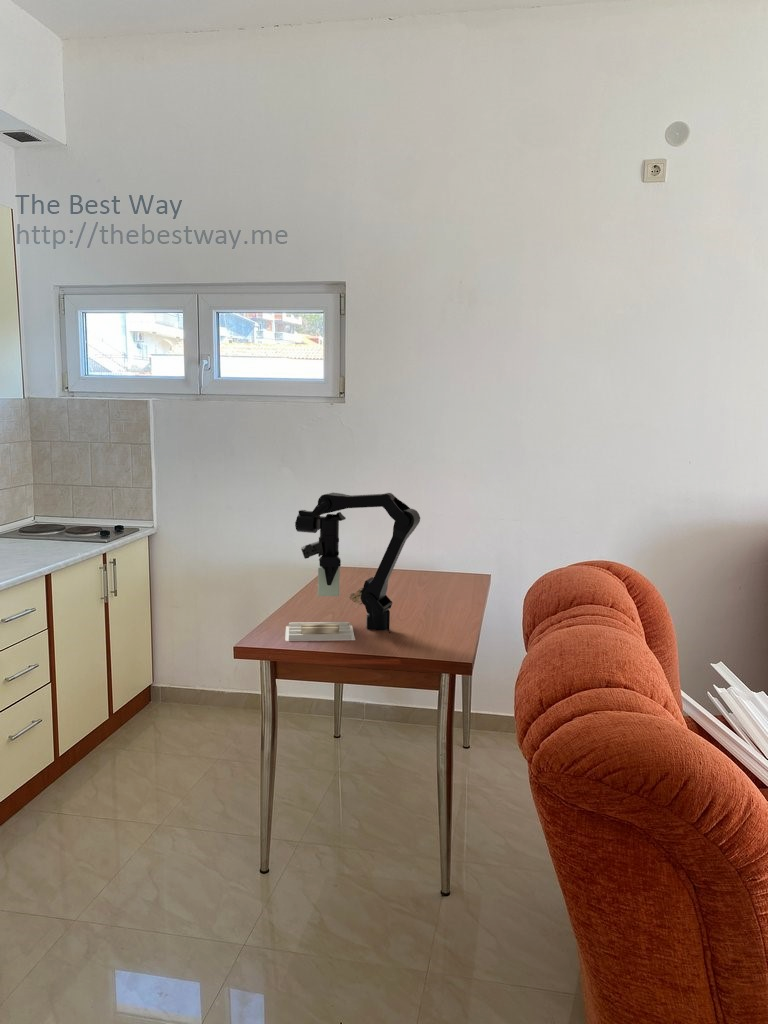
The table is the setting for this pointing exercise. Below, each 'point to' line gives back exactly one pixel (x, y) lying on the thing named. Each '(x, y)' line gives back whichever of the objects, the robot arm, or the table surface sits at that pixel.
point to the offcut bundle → (320, 629)
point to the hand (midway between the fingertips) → (328, 584)
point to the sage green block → (328, 589)
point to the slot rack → (295, 634)
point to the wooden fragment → (356, 596)
